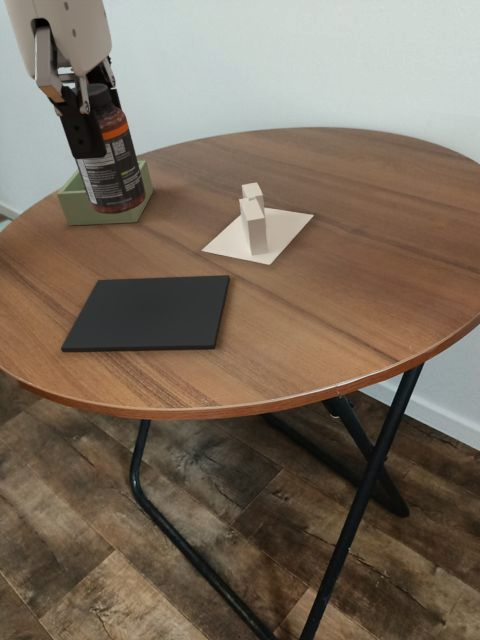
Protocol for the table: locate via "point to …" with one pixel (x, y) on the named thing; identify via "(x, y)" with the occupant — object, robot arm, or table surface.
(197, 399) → the table surface
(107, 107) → the supplement bottle
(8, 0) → the robot arm
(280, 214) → the napkin holder
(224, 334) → the table surface
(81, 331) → the mat
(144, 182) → the bin
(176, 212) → the table surface
